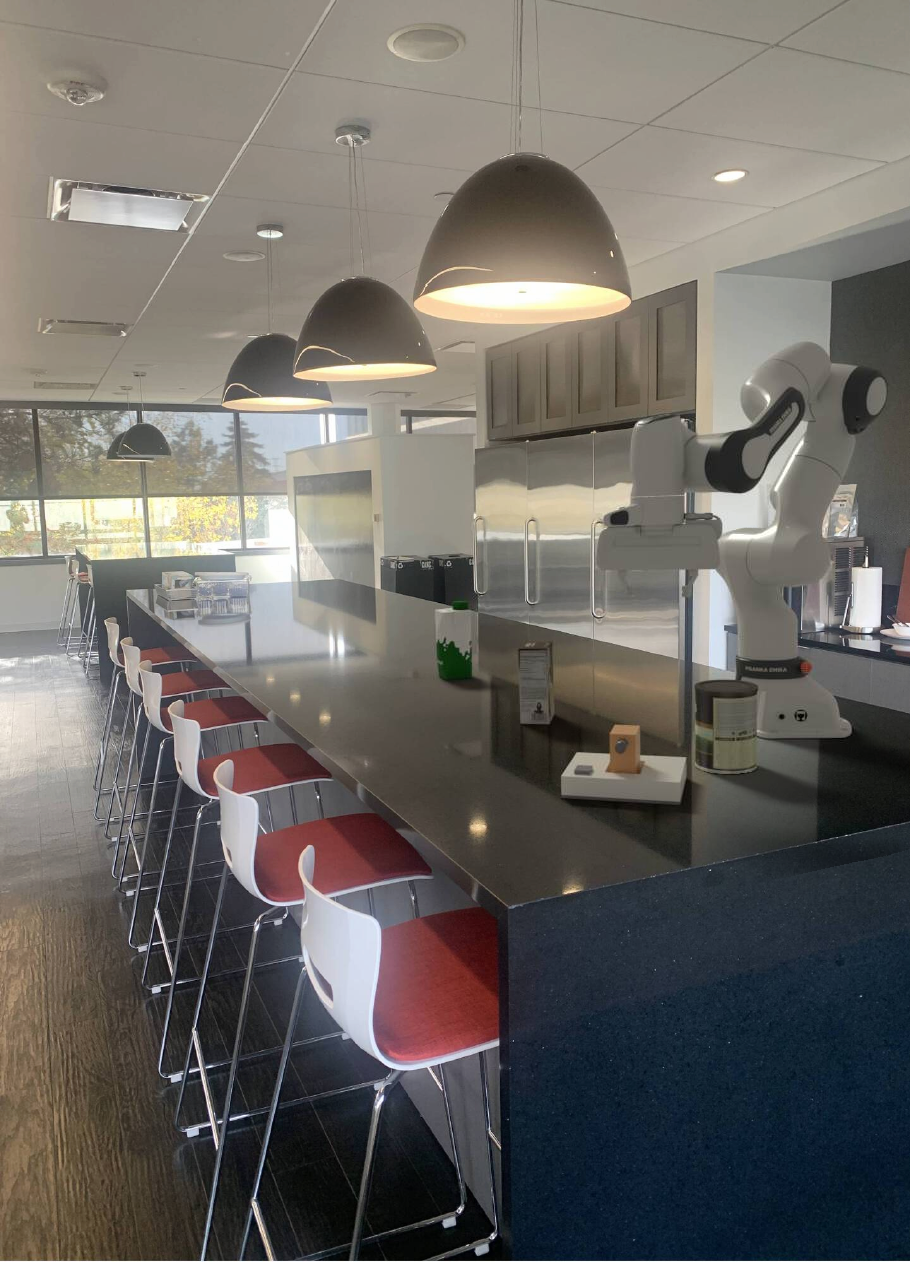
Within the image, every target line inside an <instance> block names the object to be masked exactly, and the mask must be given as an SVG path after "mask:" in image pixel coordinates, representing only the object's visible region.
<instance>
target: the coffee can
mask: <svg viewBox="0 0 910 1262" xmlns="http://www.w3.org/2000/svg"><path fill="white" fill-rule="evenodd" d="M757 691H758V685H756V684H754V683H751V682H747V681H740V680H735V679H709V680H708V679H707V680H702V681H699V682H695V684H694V716H695V717H694V720H695V722H694V724H695V725H694V727H695V728H694V731H695V732H694V733H695V734H694V735H695V736H694V738H695V739H694V742H695V743H694V747H695V748H694V750H695V751H694V754H695V758H694V767H695V768H696V769H698V770H700V771H702V772H704V771H705V773H708V772H709V773H708V774H713V773H718V774H717V775H721V774H739V773H747V772H750V773H753V772H754V771H753V770H755V769H756V768H757V769H758V765H757V752H758V751H757V743H758V742H757V739H758V736H757ZM757 769H756V770H757ZM756 770H755V771H756ZM752 771H753V772H752ZM719 773H720V774H719ZM747 774H748V773H747Z"/></svg>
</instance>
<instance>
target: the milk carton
mask: <svg viewBox="0 0 910 1262" xmlns="http://www.w3.org/2000/svg"><path fill="white" fill-rule="evenodd" d="M434 616H435V639H436V640H435V641H436V643H435V645H436V661H437V662H436V664H437V671H438V676H439V677H441V678H442V679H444V680H445V681H453V680H462V679H471V678H473V646H472V645H473V643H472V610H471V609H470V608H469V602H468V600H455V601H452V607H450V608H442V609H435V610H434Z"/></svg>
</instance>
